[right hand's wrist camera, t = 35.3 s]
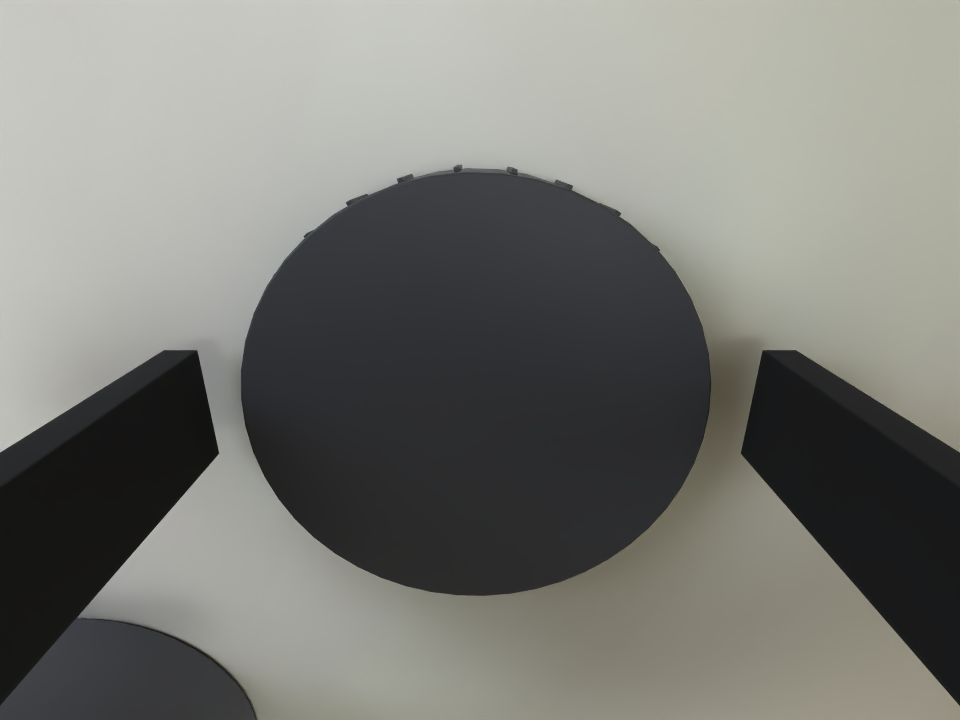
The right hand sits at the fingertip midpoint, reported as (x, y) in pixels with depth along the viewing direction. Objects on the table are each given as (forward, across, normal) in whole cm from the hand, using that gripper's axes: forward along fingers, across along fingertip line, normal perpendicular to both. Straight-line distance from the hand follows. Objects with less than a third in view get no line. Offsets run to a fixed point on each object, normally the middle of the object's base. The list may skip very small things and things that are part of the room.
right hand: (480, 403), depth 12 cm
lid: (-1, 0, 0) cm, 1 cm away
